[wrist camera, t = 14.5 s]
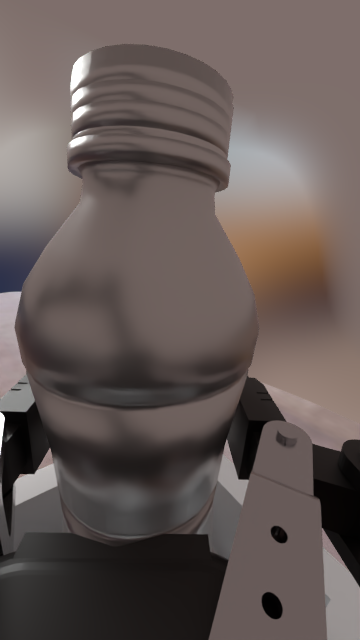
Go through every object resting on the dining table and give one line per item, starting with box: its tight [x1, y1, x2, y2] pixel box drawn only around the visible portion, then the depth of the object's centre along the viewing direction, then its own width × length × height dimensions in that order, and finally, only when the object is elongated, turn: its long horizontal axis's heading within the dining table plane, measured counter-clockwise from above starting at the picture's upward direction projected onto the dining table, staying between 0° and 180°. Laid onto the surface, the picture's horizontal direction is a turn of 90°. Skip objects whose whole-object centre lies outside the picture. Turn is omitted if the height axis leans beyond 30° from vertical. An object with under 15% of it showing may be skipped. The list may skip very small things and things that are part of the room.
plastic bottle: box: [15, 44, 259, 553], centre depth 9 cm, size 6×7×20 cm
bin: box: [14, 455, 360, 640], centre depth 12 cm, size 14×14×6 cm
